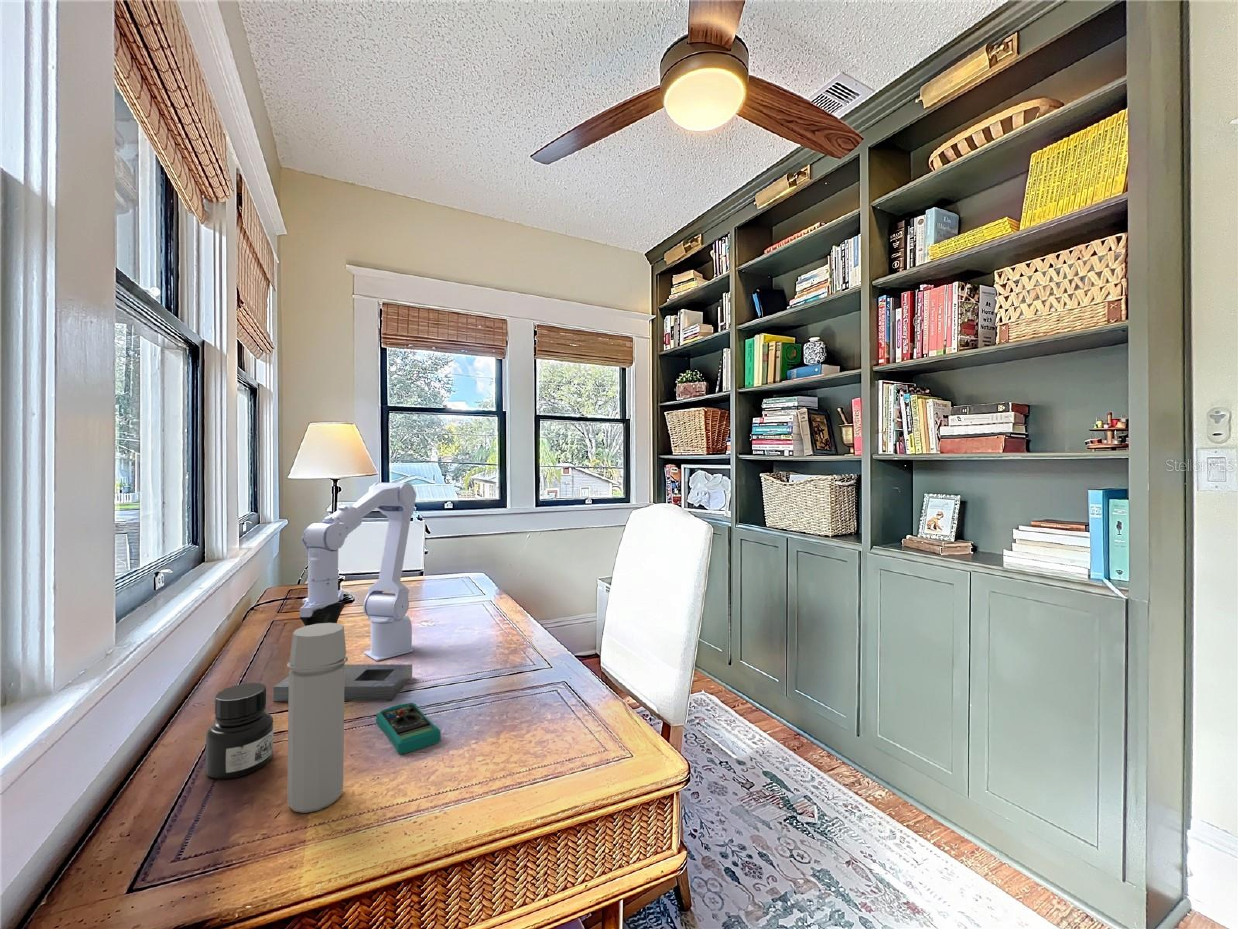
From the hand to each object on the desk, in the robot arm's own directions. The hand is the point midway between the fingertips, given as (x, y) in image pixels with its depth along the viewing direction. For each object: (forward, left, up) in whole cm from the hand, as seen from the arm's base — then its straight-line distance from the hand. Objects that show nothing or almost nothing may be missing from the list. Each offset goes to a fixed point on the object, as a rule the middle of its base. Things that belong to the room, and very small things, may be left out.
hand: (322, 641), depth 116 cm
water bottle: (+13, +40, -11) cm, 43 cm away
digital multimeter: (-4, +31, -11) cm, 33 cm away
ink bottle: (+19, +22, -11) cm, 31 cm away
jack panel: (-4, +4, -10) cm, 12 cm away
